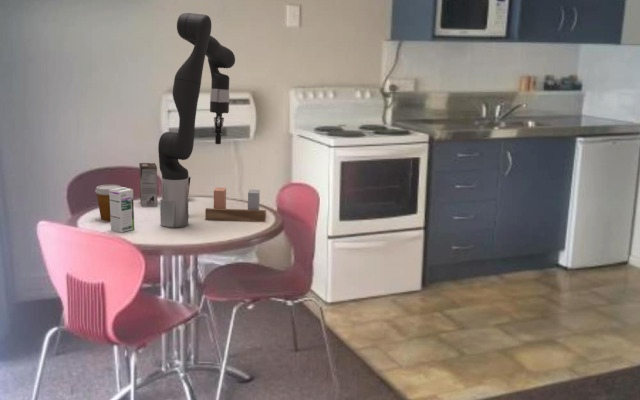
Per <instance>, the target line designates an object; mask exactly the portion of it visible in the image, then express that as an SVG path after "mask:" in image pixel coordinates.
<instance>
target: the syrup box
mask: <svg viewBox="0 0 640 400" xmlns="http://www.w3.org/2000/svg"><path fill="white" fill-rule="evenodd" d="M109 196H110V216H111V221H110V230H111V231H114V232H117V233H121V234H122V233H125V232H128V231H134V230H135V209H134V205H135V204H134V189H133V188H129V187H126V186H125V187H124V186H123V187H122V186H121V188H117V189H111V190H109Z"/></svg>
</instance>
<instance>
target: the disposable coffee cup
mask: <svg viewBox="0 0 640 400" xmlns="http://www.w3.org/2000/svg"><path fill="white" fill-rule="evenodd" d="M121 187H122V186H121V185H119V184H101V185H98V186H96V188H95V191H94V192H95V194H96V198H97V204H98V210H99V215H100V220H101V221H103V222H104V221H105V222H111V216H110V196H109V190H111V189H117V188H121Z"/></svg>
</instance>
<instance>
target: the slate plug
mask: <svg viewBox="0 0 640 400" xmlns="http://www.w3.org/2000/svg"><path fill="white" fill-rule="evenodd" d="M260 193H261V190H260V189H248V192H247V210H260V195H261V194H260Z"/></svg>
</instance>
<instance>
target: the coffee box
mask: <svg viewBox="0 0 640 400" xmlns="http://www.w3.org/2000/svg"><path fill="white" fill-rule="evenodd" d="M139 193H140V195H139V196H140V199H139V200H140V205H141V208H143V207H144V208H145V207H147V208H148V207H150V208H151V207H152V208H153V207H158V167H157V164H156V163H155V162H140V163H139Z"/></svg>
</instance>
